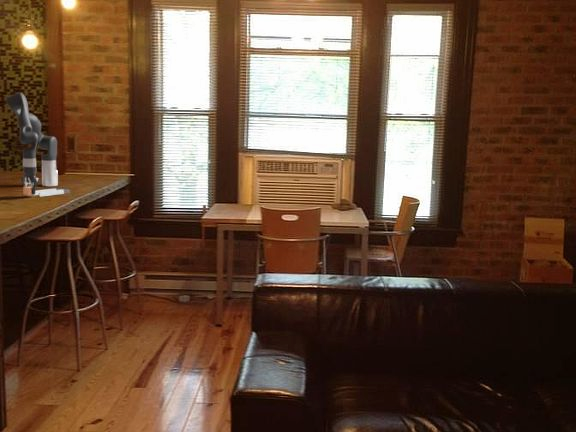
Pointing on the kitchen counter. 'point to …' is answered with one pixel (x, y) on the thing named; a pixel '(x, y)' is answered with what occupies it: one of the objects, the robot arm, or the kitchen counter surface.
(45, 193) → the channel
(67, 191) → the tray
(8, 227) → the kitchen counter surface
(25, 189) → the block
